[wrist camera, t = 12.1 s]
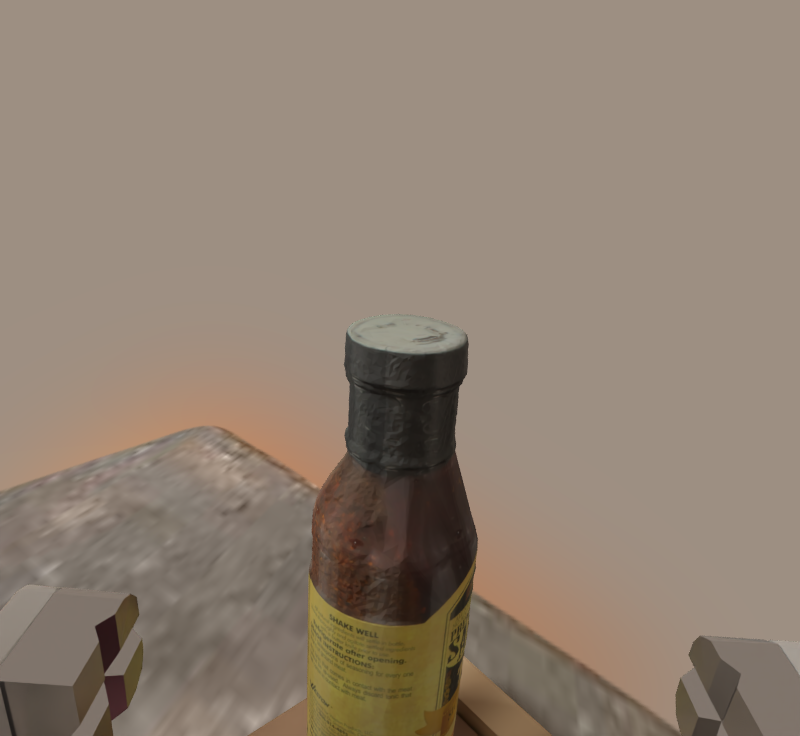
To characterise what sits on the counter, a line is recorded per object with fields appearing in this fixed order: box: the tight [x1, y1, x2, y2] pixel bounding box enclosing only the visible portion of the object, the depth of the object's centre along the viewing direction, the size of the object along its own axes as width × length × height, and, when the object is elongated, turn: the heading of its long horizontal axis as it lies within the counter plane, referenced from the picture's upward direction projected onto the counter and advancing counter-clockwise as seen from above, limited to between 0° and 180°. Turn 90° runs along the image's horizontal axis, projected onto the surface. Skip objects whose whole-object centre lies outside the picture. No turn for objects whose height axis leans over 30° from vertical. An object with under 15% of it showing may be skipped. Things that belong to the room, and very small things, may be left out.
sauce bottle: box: [307, 314, 478, 736], centre depth 24 cm, size 7×6×20 cm
